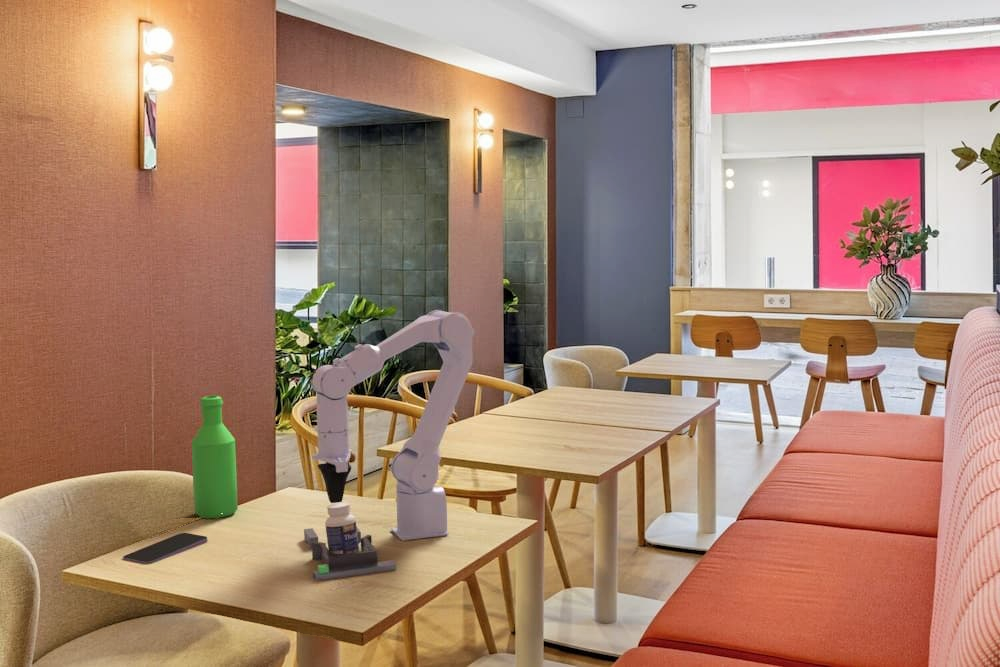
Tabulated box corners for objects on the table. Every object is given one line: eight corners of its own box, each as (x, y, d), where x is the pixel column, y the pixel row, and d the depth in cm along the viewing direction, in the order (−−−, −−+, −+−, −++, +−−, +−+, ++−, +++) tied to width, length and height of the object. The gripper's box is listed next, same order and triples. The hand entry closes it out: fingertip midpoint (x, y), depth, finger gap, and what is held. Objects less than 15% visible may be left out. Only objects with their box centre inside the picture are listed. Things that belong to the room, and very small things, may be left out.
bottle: (197, 522, 201) (191, 401, 198) (192, 511, 209) (187, 395, 206) (241, 516, 204) (236, 398, 202) (234, 506, 212) (230, 392, 210)
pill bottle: (350, 562, 172) (344, 508, 172) (324, 563, 174) (317, 509, 174) (365, 554, 177) (358, 501, 177) (339, 554, 179) (333, 502, 179)
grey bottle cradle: (379, 549, 182) (378, 533, 182) (396, 569, 171) (395, 553, 170) (303, 559, 177) (302, 542, 177) (315, 580, 166) (315, 563, 165)
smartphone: (120, 557, 178) (182, 532, 191) (120, 562, 179) (182, 537, 192) (148, 562, 175) (209, 537, 188) (148, 569, 175) (210, 542, 188)
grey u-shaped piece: (354, 533, 192) (353, 523, 192) (361, 542, 186) (360, 531, 186) (304, 539, 188) (304, 529, 188) (309, 548, 183) (309, 538, 183)
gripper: (304, 425, 187) (307, 494, 188) (318, 439, 173) (321, 514, 175) (341, 421, 189) (343, 490, 191) (358, 435, 176) (360, 509, 177)
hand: (335, 501), depth 183 cm, fingers closed
